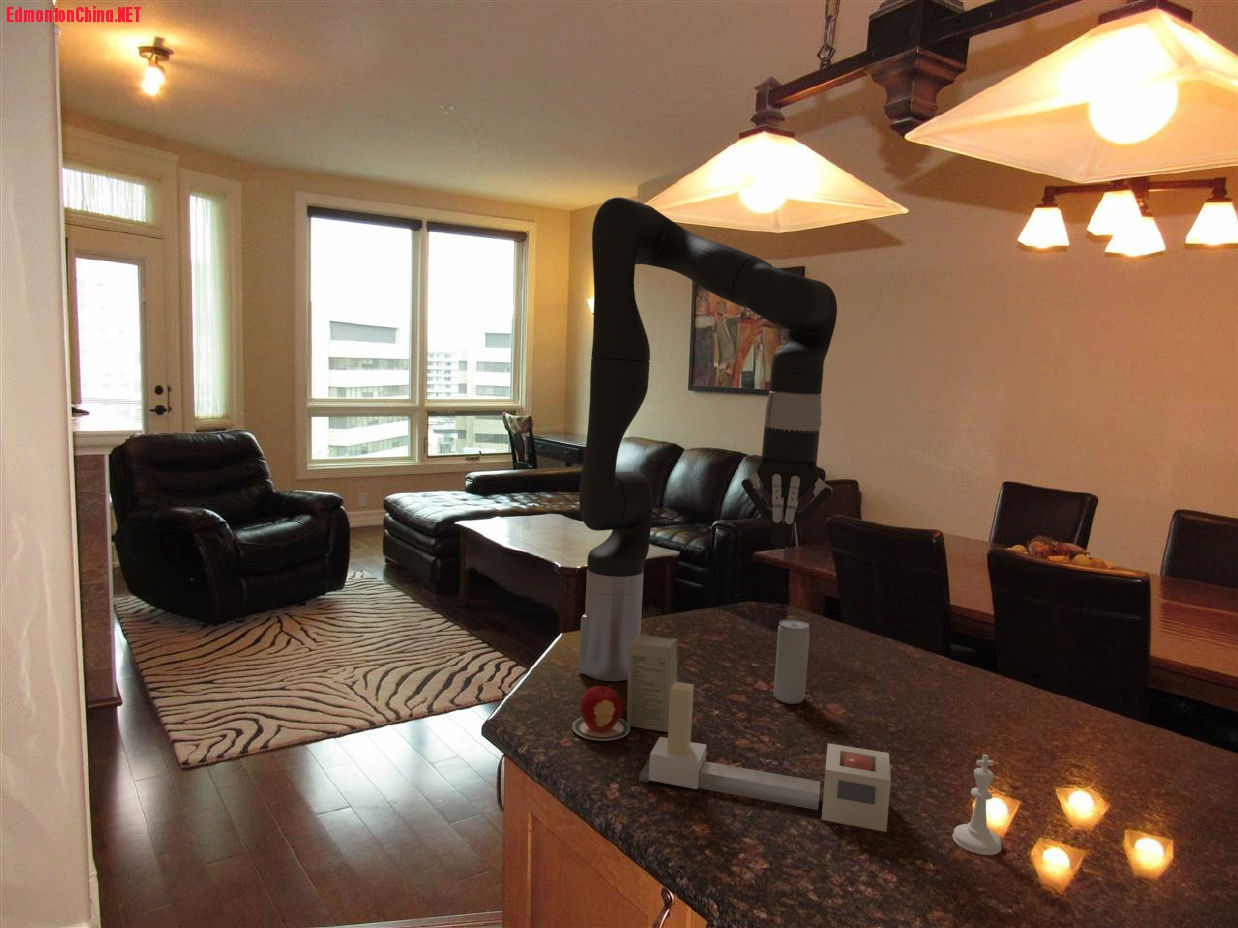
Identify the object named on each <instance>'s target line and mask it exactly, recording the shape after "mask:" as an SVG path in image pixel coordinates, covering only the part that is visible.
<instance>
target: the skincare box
mask: <svg viewBox="0 0 1238 928" xmlns="http://www.w3.org/2000/svg"><path fill="white" fill-rule="evenodd" d="M678 640H679V639H677V638H670V637H661V636H656V635H655V636H653V635H645V634H638V635H637V636H635V637H634V638H633V639H632V640H631V641H630V642H628V680H627V695H626V696H627V697H626V699H627V701H626V702H627V703H626V722H627V723H628V724H629V725H630V727H635V728H640V729H641V728H642V729H646V730H653V731H658V732H663V733H668V726H669V707H670V689H671V687H672V685H673V684H674V682H678V681H677V680H678V678H677V677H678V644H679V643H678Z"/></svg>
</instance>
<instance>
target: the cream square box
mask: <svg viewBox="0 0 1238 928" xmlns="http://www.w3.org/2000/svg"><path fill="white" fill-rule="evenodd" d="M847 754H860V755H864V756H866V757H868V758H869V759H870V760H871V762H872V763H871V771H867V770H861V769H856V768H850V767H844V758H845V756H846V755H847ZM824 772H825V773H824V783H823V785H824V786H823V797H822V810H821V821H827V822H832V823H837V824H842V825H847V826H854V827H858V828H863V829H869V830H873V831H880V832H884V833H885V832H886V833H887V830H888V829H887V827H888V816H889V806H890V795H891V794H890V793H891V783H892V782H891V781H892V780H891V779H892V778H891V777H892V776H891V766H890V754H889V752H884V751H877V750H871V749H866V748H859V747H852V746H848V745H842V744H841V745H840V744H835V743H829V742H828V743H827V749H826V761H825V770H824Z"/></svg>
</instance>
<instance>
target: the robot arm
mask: <svg viewBox="0 0 1238 928" xmlns="http://www.w3.org/2000/svg"><path fill="white" fill-rule="evenodd" d="M591 233H592V234H591V249H592V250H591V251H592V270H593V320H592V321H593V326H592V346H591V355H590V356H591V358H590V373H589V374H590V375H589V407H588V419H587V420H588V422H587V433H586V443H585V450H584V457H583V463H582V464H583V465H582V470H581V477H580V485H579V494H578V495H579V497H578V498H579V499H578V503H579V511H580V512H579V513H580V515H581V519H582V521H583V524H584V525H585V527H587V528H588V529H589V530H591V531H598V532H600V531H611V534H610V535H609V536H608V537H607V539H605V540H604V541H603V542H601V544H599V545H597V546H596V547H594V548H592V549H591V550H590V551H589V552H588V554H587V561H586V562H587V563H586V585H585V586H586V591H585V612H584V614H583V615H581V617H580V635H579V655H578V656H579V659H578V674H583V675H585V676H588V677H589V678H592V679H595V680H598V681H604V682H624V681H628V642H630V641H631V640H632V639H633V638H634V637H635V636H637V635H638V634H640V635H642V634H641V633H642V631H641V630H642V612H643V611H642V608H643V607H642V606H643V590H644V588H643V587H644V570H645V562H646V559H647V557H648V554H649V551H650V550H649V549H650V539H651V532H652V531H651V530H652V521H653V512H654V499H653V498H654V497H653V489H652V486H651V483H650V482H649V479H648V478H647V477H646V476H645V475H644V474H642V473H641V472H639V471H631V470H630V471H616V469H617V460H618V455H619V450H620V446H621V443H622V440H623V437H624V436H625V434H626V432H627V430H628V428H629V427H630V425H631V424H632V422H633V420H634V419H635V417H636V415H637V413H638V412H639V411H640V408H641V407H642V405H643V403H644V401H645V399H646V396H647V393H648V388H649V380H650V379H649V378H650V377H649V375H650V363H651V362H650V361H651V350H650V349H651V348H650V343H649V338H648V334H647V332H646V331H647V330H646V329H645V325H644V323H643V320H642V316H641V313H640V311H639V308H638V305H637V300H636V292H635V275H636V265H645V266H651V267H656V268H662V269H665V270H670V271H673V272H676V273H678V274H680V275H682V276H684V277H686V278H688V279H689V280H691V281H692V282H694V283H695V284H696V285H698V286H699V287H700V288H702V289H703V290H705V291H707V292H709V293H711V294H713V295H715V296H717V297H719V298H722V299H723V300H726V301H729V302H731V303H733V304H735V305H736V306H737V305H738V306H740V307H743V308H746V309H748V310H750V311H752V312H753V313H754V314H756V315H758V316H759V317H761V318H763V320H764V319H765V320H766V321H768V322H770V323H772V324H774V325H776V326H778V327H781V328H783V329H787V333H786V336H785V341H784V345H783V346H782V348H781V349H779V350H777V351H776V352H775V353H774V355H773V356H772V360H771V361H772V362H771V368H770V380H769V392H768V397H767V402H766V406H765V413H764V414H765V415H764V426H763V427H764V428H763V439H762V450H761V451H762V452H761V460H760V463H759V464H758V465H757V468H756V472H755V473H754V474H752V475H750V476H749V477H748V476H747V477H745V478H744V479H743V480H742V481H741V487H742V488H743V490H744V491H745V493H746V494H747V497H748V498H749V499H750V500H751V502H752V504H753V505H754V507H755V508H756V510H757V511H758V513H759V514H760V516H762V517H763V518H767V519H769V520H770V521H771V523H772V525H771V526H772V527H771V535H770V542H771V544H772V545H775V546H774V549H776V550H777V549H778V550H783V551H784V550H786V549H787V548H788V547H790V546H791V544H792V543H793V538H794V536H793V535H794V527H795V526H794V525H795V523H797V522H805V521H806V520H807V519H808V518H810V517H811V516H812V514H814V512H815V511H817V510H818V508H820V506H822V504H824V503H825V501H827V500H828V498H830V497H831V495H832V493H833V487H832V486H830V485H827V484H826V483H825V482H824V481H823V479H821V478H820V472H819V471H820V470H819V469H818V466H817V465H818V464H817V463H818V453H819V452H818V451H819V441H820V431H821V426H822V393H823V392H822V390H823V379H824V364H825V360H826V357H827V354H828V351H829V348H830V347H831V346H830V345H831V342H832V338H833V335H834V331H835V327H836V323H837V317H838V304H837V299H836V294H835V293H834V291H833V289H832V288H831V287H830V286H829V285H828V284H827V283H826V282H823V281H820V280H816V279H812V278H808V277H804V276H801V275H799V274H795V273H792V272H789V271H786V270H783V269H780V268H777V267H775V266H773V265H772V264H770V263H769V262H767V261H766V260H764V259H762V258H760V257H757V256H755V255H752V254H750V253H747V252H745V251H742V250H740V249H737V248H735V247H732V246H729V245H726V244H723V243H721V242H716V241H713V240H710V239H707V238H705V237H702V236H699V235H698V234H695V233H693V232H692V231H689V230H688V229H686V228H684V227H682V226H680V225H679V224H677V223H676V222H675V221H673V220H671V219H670V218H668V217H667V216H666V215H664V214H663V213H661V212H660V211H659V210H657V209H655V208H654V207H652V206H651V205H649V204H645V203H642V202H640V201H639V202H638V201H635V200H633V199H629V198H625V197H621V196H614V197H611V198H608V199H607V200H605V201H604V202H603V203H602V204H601V205H600V206H599V208H598V209H597V211H596V213H595V217H594V220H593V224H592V231H591ZM760 481H761V483H760ZM761 484H762V485H763V487H764V488H765V489H766V491H767V492H768V494H769V495H770V496H771V497H772V498H771V499H772V500H771V501H772V504H771V505H772V507H770V505H769V503H768V502H767V501H766V499H765V498H764V496H763V494H762V492H761V491H760V490H759V489H760V487H761ZM814 486H815V488H814V489H813V495H814V497H813V498H812V499H811V500H810V501H809V502H808V503H807V504H805V506H804V507H803V508H802V509H801V510H797V508H798V504H799V499H802V498H803V497H804V496H805V495H806V494H807V493H808V492H809V491H810V489H811V488H813V487H814ZM784 498H786V499H787V502H786V503H787V504H786V509H785V510H786V511H785V514H784V500H785V499H784ZM784 515H785V516H784ZM783 517H784V520H783Z"/></svg>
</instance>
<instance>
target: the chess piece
mask: <svg viewBox="0 0 1238 928" xmlns="http://www.w3.org/2000/svg"><path fill="white" fill-rule="evenodd" d="M975 764H976V765H977V766H981V767H977V768H975V769H974V770H973V776H974V779H975V784H976V786H977V787H973V788H972V789H971V791H970V793H971V795H972V797H973V796H974V797H975V803H974V807H973V811H972V815H971V819H970V821H969V822H968V823H963V824H959V825H957V826H955V827H954V830H953V832H952V839H953V840H954V841H953V842H955V843H956V845H958V846H959V847H961V848H962V849H963V850H966V851H967V852H970V853H974V854H976V855H977V854H978V855H983V856H993V855H997V854H999V853H1000V852H1001V851H1002V848H1003V847H1002V840H1001V838H1000V837H999V836H998V835H997V834H996V832H994V831H993V830H991V829H990V828H989V827H988V826H987V825H988V824H987V800H991V799H992V798H993V793H992V792H991V791H990V790H989V787H990V785H991V783H992V781H993V779H994V777H995V775H994V773H993V772H992V770H990V769H988V766H990V767H991V766H994V761H993V760H992V759H989V755H988V754H985V753H984V754H982V757H981V759H976V762H975Z"/></svg>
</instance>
